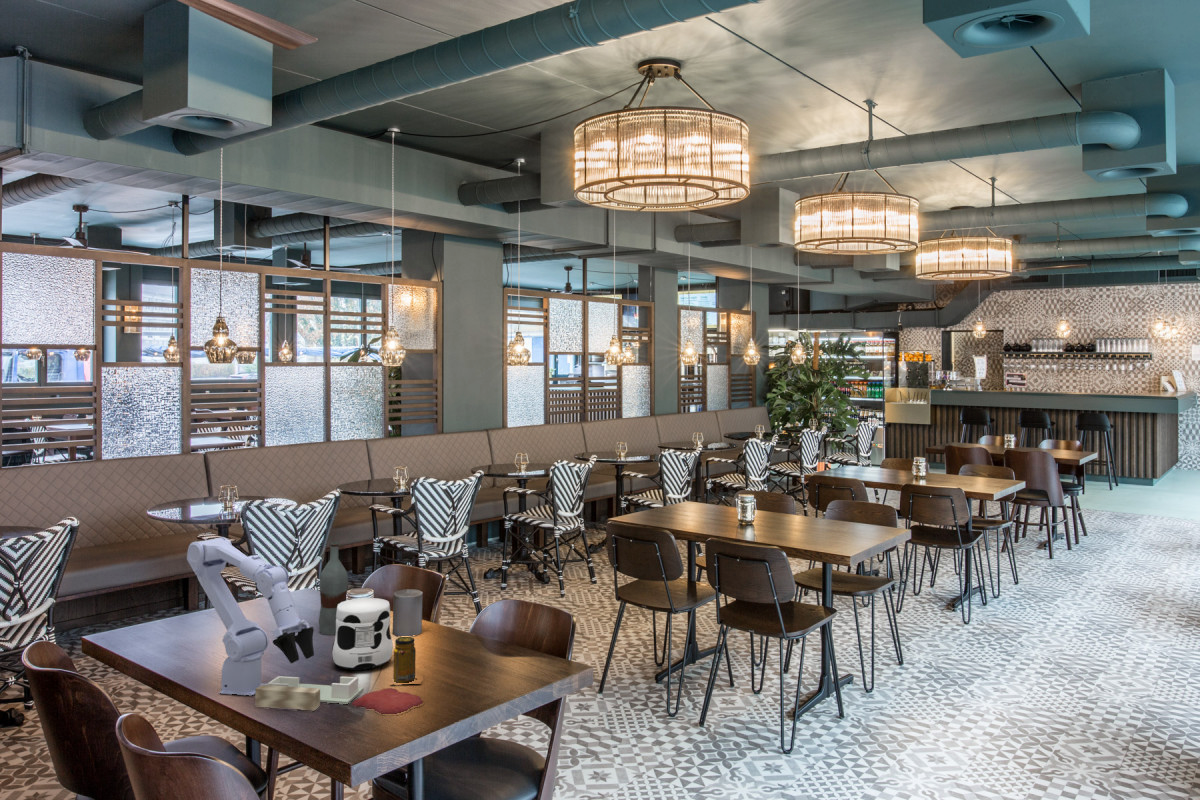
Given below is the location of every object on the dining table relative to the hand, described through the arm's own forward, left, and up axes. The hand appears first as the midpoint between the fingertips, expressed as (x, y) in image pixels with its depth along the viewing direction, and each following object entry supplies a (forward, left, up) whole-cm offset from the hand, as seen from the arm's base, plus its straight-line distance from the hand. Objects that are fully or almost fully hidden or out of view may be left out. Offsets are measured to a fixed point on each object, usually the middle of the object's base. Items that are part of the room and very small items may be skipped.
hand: (302, 659), depth 207 cm
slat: (-3, -2, -12) cm, 13 cm away
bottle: (-20, +61, -12) cm, 65 cm away
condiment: (+21, +21, -12) cm, 32 cm away
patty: (+22, +5, -13) cm, 25 cm away
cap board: (0, +7, -12) cm, 14 cm away
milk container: (+3, +32, -12) cm, 34 cm away
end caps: (0, +7, -12) cm, 14 cm away
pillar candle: (+5, +64, -12) cm, 65 cm away
